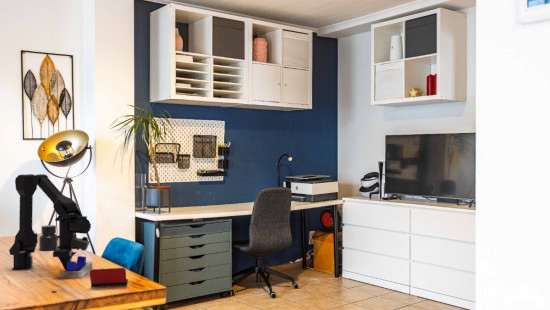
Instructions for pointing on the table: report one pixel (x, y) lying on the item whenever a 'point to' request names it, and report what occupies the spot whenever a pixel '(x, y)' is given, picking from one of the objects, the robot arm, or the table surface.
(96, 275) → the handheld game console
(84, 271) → the slot rails
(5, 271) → the table surface
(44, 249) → the ink bottle
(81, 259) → the cable clip
